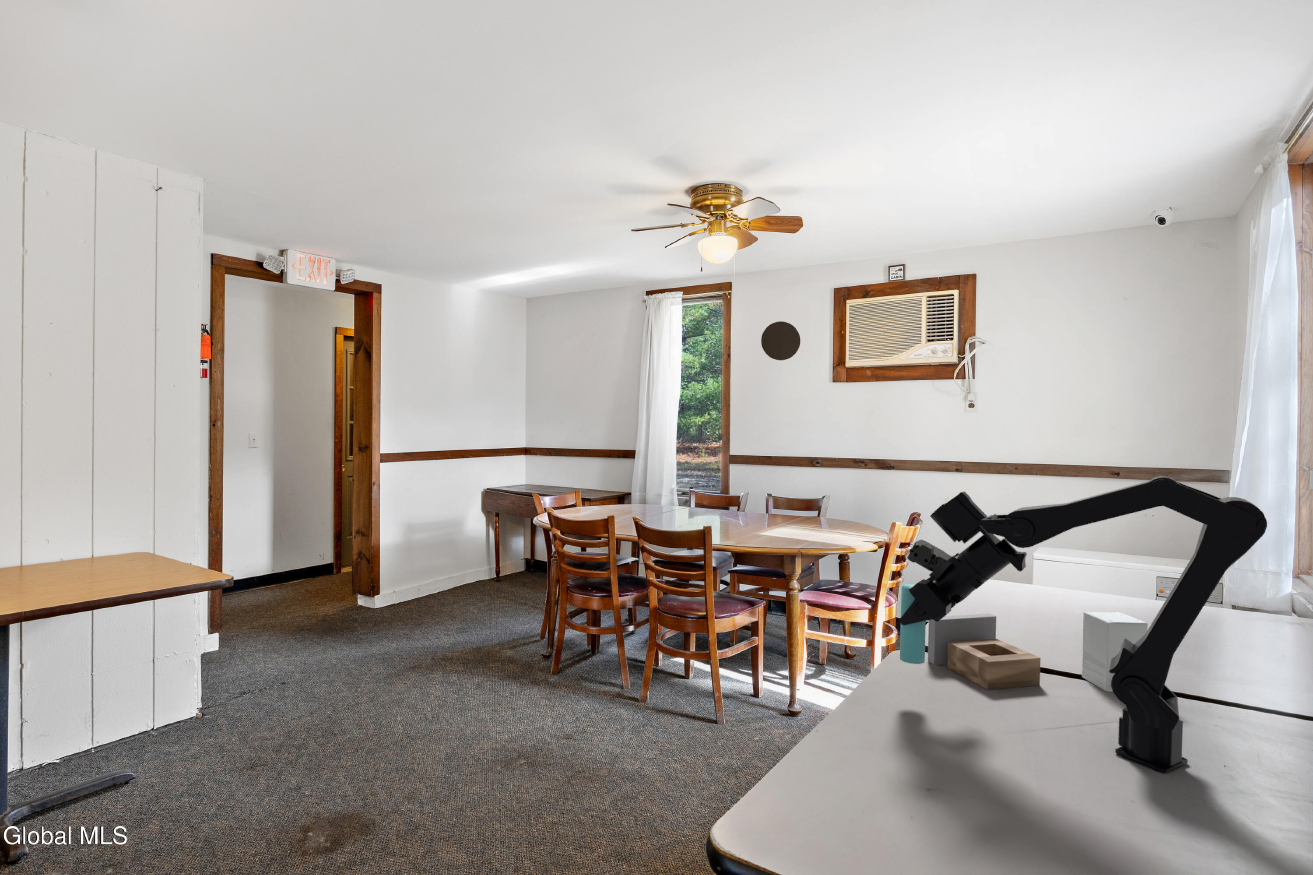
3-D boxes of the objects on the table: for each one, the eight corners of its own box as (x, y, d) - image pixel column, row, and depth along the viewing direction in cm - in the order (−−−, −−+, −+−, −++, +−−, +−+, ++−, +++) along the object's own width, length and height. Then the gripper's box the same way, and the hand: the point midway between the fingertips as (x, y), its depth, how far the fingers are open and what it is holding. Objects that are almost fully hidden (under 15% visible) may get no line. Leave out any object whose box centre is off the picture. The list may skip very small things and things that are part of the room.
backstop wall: (995, 660, 136) (996, 616, 135) (934, 665, 132) (935, 619, 132) (988, 657, 138) (989, 613, 137) (927, 662, 134) (928, 617, 134)
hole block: (1039, 685, 123) (1040, 657, 123) (987, 689, 120) (988, 661, 120) (995, 663, 133) (996, 638, 133) (947, 667, 131) (948, 642, 131)
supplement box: (1147, 693, 120) (1149, 623, 120) (1105, 692, 120) (1107, 622, 120) (1120, 678, 127) (1122, 611, 127) (1080, 677, 128) (1082, 610, 127)
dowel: (929, 661, 115) (931, 588, 115) (913, 665, 113) (915, 591, 113) (910, 654, 118) (912, 583, 118) (894, 657, 116) (896, 585, 116)
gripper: (953, 520, 120) (889, 573, 127) (924, 532, 105) (853, 592, 112) (1001, 570, 116) (932, 622, 123) (978, 591, 101) (901, 649, 108)
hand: (904, 620), depth 116 cm, fingers closed on dowel, 4 cm apart
